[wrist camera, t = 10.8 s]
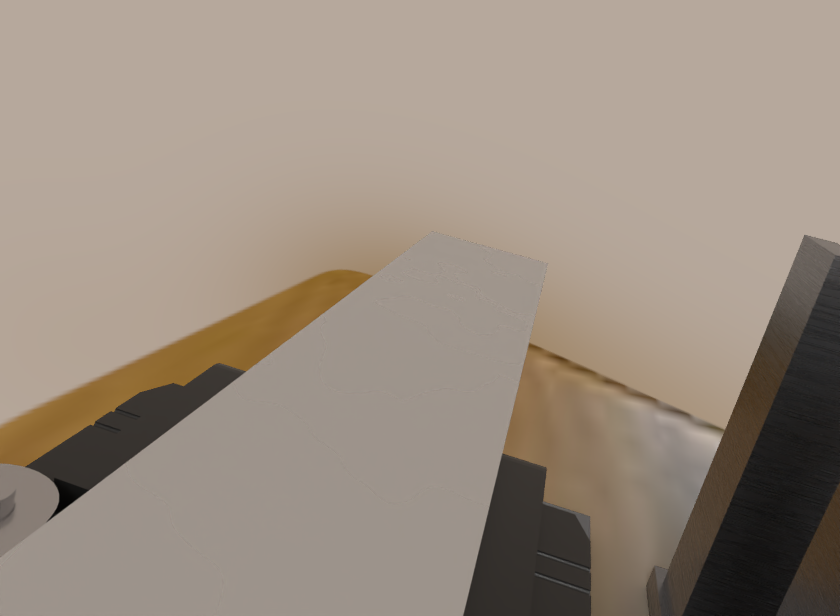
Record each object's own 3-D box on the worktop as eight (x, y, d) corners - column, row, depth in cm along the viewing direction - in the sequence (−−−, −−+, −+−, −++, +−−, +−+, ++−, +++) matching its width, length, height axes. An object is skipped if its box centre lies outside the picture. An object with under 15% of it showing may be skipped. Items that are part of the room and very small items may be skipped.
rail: (283, 1250, 5) (395, 896, 4) (-149, 1035, 5) (-150, 670, 4) (515, 372, 22) (547, 263, 21) (406, 339, 22) (432, 231, 21)
